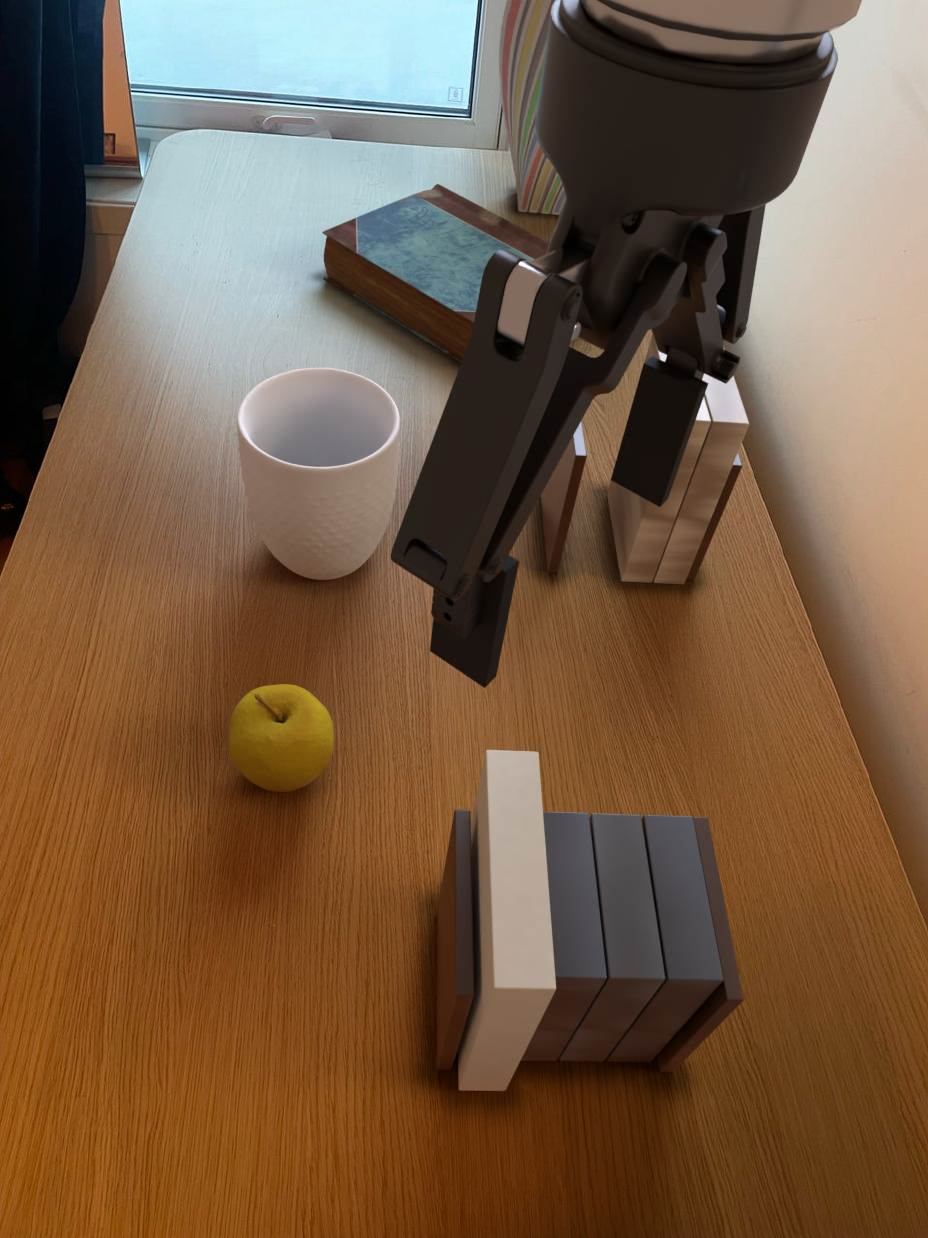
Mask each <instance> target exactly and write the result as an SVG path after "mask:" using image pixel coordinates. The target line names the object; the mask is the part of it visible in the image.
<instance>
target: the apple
mask: <svg viewBox="0 0 928 1238" xmlns="http://www.w3.org/2000/svg"><path fill="white" fill-rule="evenodd" d="M334 742H335V731H334V723H333V720H332V717H331V715H330V712H329V711H328V710H327V707H325V706H324V705H323V704H322V702H320V700H319V699H318V698H316V697H315V696H314V695H313V694H312V693H311V691H309V690H307V689H305V688H304V687H301V686H298V685H295V684H288V683H279V684H269V685H263V686H259V687H256V688H254V689H252V690H250V691H249V692H248V693H246V694H245V695H244V696H243V697H242V698H241V699H240V700H239V702H238V703H237V705H236V706H235V708H234V710H233V713H232V715H231V718H230V725H229V735H228V754H229V758H230V759H229V760H230V761H231V762H232V764H233V766H234V767H235V768H236V769H237V770H238V771H239V772H240V774H242V775H243V776H244V777H245V778H246V779H247V780H248V782H250V783H252V784H254V785H256V786H257V787H260V788H261V789H264V790H266V791H270V792H276V793H277V792H278V793H287V792H293V791H296V790H299V789H302V788H304V787H306V786H308V785H310V784H311V783H313V782H314V781H315V780H316V779H317V778H318V777H320V776H321V775H322V774H323V773H324V772H325V770H326V768H327V767H328V765H329V764H330V761H331V759H332V756H333V753H334V744H335V743H334Z"/></svg>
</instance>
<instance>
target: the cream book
mask: <svg viewBox="0 0 928 1238" xmlns="http://www.w3.org/2000/svg"><path fill="white" fill-rule="evenodd" d="M540 767H541V766H540V754H539V752H538V751H531V750H530V751H529V750H528V751H527V750H502V749H486V750H485V754H484V758H483V763H482V767H481V773H480V778H479V782H478V786H477V787H478V788H477V792H476V796H475V802H474V807H473V811H472V815H471V859H472V908H473V958H474V997H473V1000H472V1003H471V1007H470V1010H469V1013H468V1017H467V1020H466V1023H465V1026H464V1030H463V1033H462V1036H461V1040H460V1043H459V1046H458V1049H457V1056H458V1058H457V1066H458V1067H457V1069H458V1071H457V1074H458V1075H457V1077H458V1079H457V1080H458V1084H457V1085H458V1091H465V1092H467V1091H469V1092H470V1091H471V1092H473V1091H474V1092H475V1091H478V1092H479V1091H482V1092H483V1091H484V1092H487V1091H488V1092H491V1091H492V1092H505V1091H507V1089H508V1086H509V1084H510V1082H511V1080H512V1078H513V1077H514V1074H515V1072H516V1070H517V1068H518V1066H519V1064H520V1062H521V1058H522V1056H523V1054H524V1052H525V1050H526V1048H527V1046H528V1044H529V1042H530V1040H531V1038H532V1036H533V1034H534V1032H535V1030H536V1028H537V1026H538V1024H539V1022H540V1020H541V1018H542V1016H543V1014H544V1012H545V1010H546V1008H547V1006H548V1004H549V1002H550V1000H551V998H552V996H553V994H554V992H555V990H556V979H555V966H554V952H553V939H552V926H551V912H550V899H549V886H548V872H547V859H546V846H545V832H544V819H543V811H544V808H543V807H544V805H543V794H542V781H541V780H542V779H541V768H540Z"/></svg>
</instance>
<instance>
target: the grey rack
mask: <svg viewBox="0 0 928 1238" xmlns="http://www.w3.org/2000/svg"><path fill="white" fill-rule="evenodd" d="M452 816H453V817H452V824H451V828H450V835H449V840H448V845H447V852H446V857H445V862H444V867H443V874H442V880H441V885H440V891H439V897H438V902H437V929H436V930H437V936H436V937H437V940H436V941H437V942H436V943H437V944H436V945H437V946H436V948H437V949H436V951H437V952H436V956H437V957H436V958H437V959H436V961H437V965H436V966H437V967H436V970H437V971H436V1070H439V1071H443V1070H444V1071H445V1070H446V1071H450V1070H452V1069H453V1066H454V1062H455V1059H456V1056H457V1054H458V1046H459V1043H460V1040H461V1036H462V1033H463V1030H464V1026H465V1023H466V1020H467V1017H468V1013H469V1010H470V1007H471V1003H472V1000H473V997H474V958H473V908H472V859H471V820H472V815H471V809H460V808H459V809H454V811H453V815H452ZM543 819H544V832H545V846H546V859H547V872H548V886H549V899H550V912H551V926H552V939H553V952H554V966H555V979H556V990H555V992H554V994H553V996H552V998H551V1000H550V1002H549V1004H548V1006H547V1008H546V1010H545V1012H544V1014H543V1016H542V1018H541V1020H540V1022H539V1024H538V1026H537V1028H536V1030H535V1032H534V1034H533V1036H532V1038H531V1040H530V1042H529V1044H528V1046H527V1048H526V1050H525V1052H524V1054H523V1056H522V1058H521V1060H520V1062H522V1061H524V1062H525V1061H531V1062H534V1061H535V1062H557V1061H558V1060H559V1061H560V1062H605V1061H606V1062H612V1063H613V1062H617V1063H619V1062H622V1063H625V1062H627V1063H628V1062H629V1063H632V1062H633V1063H652V1061H653V1060H654V1059H655V1058H656V1057H657V1065H658V1071H659V1072H660V1073H673V1072H675V1071H676V1070H677V1069H678V1068H679V1067H680V1066H681V1065H682V1064H683V1063H684V1061H686V1060H687V1059H688V1057H690V1056H691V1055H692V1054H693V1052H694V1051H695V1050H696V1049H698V1048H699V1047H700V1045H702V1044H703V1043H704V1041H705V1040H706V1039H708V1038H709V1037H710V1035H712V1033H713V1032H714V1031H715V1030H716V1029H718V1027H719V1026H720V1025H721V1024H722V1023H723V1022H724V1021H725V1020H726V1019H727V1018H728V1017H729V1016H730V1015H731V1014H732V1013H733V1012H734V1011H735V1010H736V1009H737V1008H738V1007H739V1006H740V1005H741V1004H742V1003H743V1002H744V1000H745V997H744V993H743V992H744V991H743V988H742V982H741V977H740V973H739V968H738V963H737V958H736V952H735V946H734V943H733V936H732V932H731V928H730V923H729V917H728V913H727V907H726V902H725V897H724V892H723V887H722V881H721V877H720V871H719V867H718V861H717V856H716V851H715V847H714V842H713V837H712V831H711V827H710V826H711V825H710V822H709V818H708V817H707V816H706V817H705V816H692V815H668V814H667V815H665V814H664V815H663V814H642V815H641V814H636V813H635V814H634V813H633V814H632V813H630V814H629V813H606V812H605V813H603V812H602V813H600V812H599V813H598V812H592V813H591V814H590V813H589V812H574V811H573V812H572V811H571V812H569V811H544V810H543Z"/></svg>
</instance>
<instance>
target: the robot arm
mask: <svg viewBox="0 0 928 1238" xmlns="http://www.w3.org/2000/svg"><path fill="white" fill-rule="evenodd" d="M862 2H863V0H555V1H554V3H553V5H552V9H551V15H550V22H549V29H548V36H547V43H546V50H545V57H544V64H543V70H542V77H541V84H540V91H539V98H538V105H537V112H536V119H535V131H536V136H537V140H538V142H539V145H540V147H541V149H542V151H543V153H544V154H545V156H546V157H547V159H549V161H550V162H551V164H552V165H553V167H554V168H555V170H556V172H557V173H558V175H559V177H560V179H561V182H562V184H563V186H564V189H565V193H566V200H565V202H564V204H563V207H562V209H561V212H560V215H559V217H558V220H557V223H556V226H555V229H554V231H553V232H552V236H551V238H550V240H549V246H548V249H547V253H546V255H544V256H542V257H539V258H537V259H535V260H533V261H528V260H526V259H524V258H522V257H520V256H518V255H516V254H514V253H511V252H509V251H507V250H505V249H499V250H498V251H496V252H495V253H494V254H493V255H492V257H491V258H490V259H489V261H488V263H487V265H486V267H485V269H484V272H483V276H482V281H481V286H480V292H479V297H478V303H477V308H476V314H475V319H474V325H473V330H472V335H471V338H470V341H469V343H468V346H467V349H466V351H465V354H464V357H463V359H462V362H461V363H460V365H459V368H458V370H457V373H456V376H455V379H454V381H453V383H452V386H451V390H450V392H449V394H448V396H447V400H446V402H445V406H444V408H443V411H442V414H441V416H440V418H439V421H438V423H437V427H436V430H435V433H434V435H433V438H432V441H431V443H430V446H429V449H428V450H427V454H426V457H425V459H424V461H423V464H422V467H421V470H420V473H419V475H418V477H417V480H416V483H415V486H414V489H413V491H412V494H411V496H410V499H409V502H408V505H407V508H406V510H405V513H404V516H403V518H402V521H401V524H400V527H399V529H398V532H397V534H396V537H395V540H394V542H393V545H392V548H391V552H390V560H391V561H392V562H393V563H394V564H395V565H397V566H398V567H400V568H401V569H403V570H405V571H406V572H408V573H409V574H411V575H412V576H414V577H415V578H417V579H418V580H420V581H422V582H423V583H425V584H426V585H428V586H429V587H431V588H432V589H433V590H432V594H433V595H432V599H431V601H432V602H431V608H430V609H431V610H430V614H431V616H432V626H431V635H430V645H429V652H431V653H432V654H433V655H435V656H436V657H437V658H439V659H441V660H442V661H443V662H444V663H446V664H448V665H450V666H451V667H453V668H454V669H456V670H457V671H458V672H460V673H462V674H463V675H464V676H466V677H467V678H469V679H470V680H471V681H473V682H475V683H476V684H478V685H479V686H480V687H482V688H483V689H486V688H487V686H489V685H490V683H492V682H493V680H494V679H496V677H497V675H498V669H499V665H500V660H501V655H502V649H503V645H504V640H505V636H506V630H507V625H508V619H509V614H510V610H511V605H512V600H513V595H514V589H515V584H516V579H517V575H518V571H519V566H520V560H519V559H517V558H515V557H513V556H512V555H510V553H511V551H512V550H513V547H514V546H515V544H516V543H517V540H518V538H519V537H520V535H521V533H522V531H523V529H524V527H525V525H526V523H528V520H529V518H530V516H531V514H532V513H533V511H534V509H535V507H536V505H537V503H538V502H539V499H541V497H540V496H541V494H542V492H543V491H544V489H545V487H546V485H547V483H548V481H549V479H550V478H551V476H552V474H553V472H554V470H555V468H556V467H557V465H558V463H559V461H560V459H561V457H562V455H563V454H564V452H565V450H566V448H567V446H568V444H569V443H570V441H571V439H572V437H573V435H574V433H575V431H576V430H577V428H578V426H579V424H580V422H581V420H582V421H583V419H584V417H585V415H586V413H587V411H588V410H589V408H590V406H591V404H592V402H593V400H594V399H595V398H596V397H597V396H599V395H606V394H609V393H612V392H613V391H615V389H616V388H617V387H618V386H619V384H620V382H621V381H622V379H623V377H624V375H625V373H626V372H627V370H628V368H629V366H630V365H631V363H632V360H633V359H634V358H635V355H636V354H637V351H638V349H639V347H640V346H641V344H642V343H643V341H644V338H645V337H646V335H647V333H648V331H651V333H652V334H653V336H654V339H655V342H656V345H657V348H658V351H659V352H661V353H663V354H665V355H667V357H666V360H665V362H664V361H662V360H660V359H658V358H656V357H654V356H652V357H651V358H649V359H648V360H647V361H646V362H645V361H644V362H645V363H644V362H643V364H642V368H641V372H640V374H639V378H638V382H637V385H636V389H635V392H634V395H633V399H632V403H631V407H630V410H629V414H628V418H627V420H626V424H625V428H624V431H623V435H622V438H621V442H620V446H619V449H618V453H617V456H616V459H615V463H614V466H613V470H612V473H611V478H610V482H611V481H613V482H615V483H617V484H619V485H620V486H622V487H624V488H626V489H628V490H630V491H631V492H633V493H635V494H637V495H639V496H640V497H642V498H644V499H646V500H648V501H649V502H651V503H653V504H655V505H657V506H659V507H661V506H662V505H663V504H664V503H665V501H666V500H667V499H668V497H669V494H670V491H671V489H672V486H673V483H674V480H675V477H676V474H677V472H678V469H679V466H680V463H681V460H682V457H683V454H684V452H685V449H686V446H687V443H688V440H689V437H690V435H691V432H692V429H693V426H694V423H695V420H696V417H697V415H698V412H699V409H700V406H701V403H702V400H703V398H704V395H705V392H706V389H707V386H708V383H707V382H705V381H703V380H702V378H703V376H704V374H706V375H708V376H710V377H712V378H715V379H717V380H719V381H721V382H723V383H725V384H726V383H728V381H729V380H730V379H731V378H732V376H733V375H735V373H736V371H737V370H738V367H739V364H740V362H741V356H739V355H737V354H734V353H733V352H730V351H728V350H726V349H725V350H724V348H725V345H724V341H725V342H727V343H730V344H732V345H735V344H736V343H738V341H739V340H740V339H741V338H742V337H743V336H744V335H745V333H746V331H747V329H748V328H747V325H748V321H749V317H750V310H751V304H752V297H753V291H754V290H753V289H754V285H755V276H756V271H757V264H758V258H759V251H760V245H761V238H762V231H763V225H764V218H765V211H766V206H767V204H769V203H770V202H772V201H774V200H776V199H777V198H778V197H780V196H781V195H782V194H783V193H784V192H785V191H787V190H788V189H789V187H790V186H791V185H792V183H793V182H794V180H795V178H796V176H797V175H798V173H799V170H800V167H801V165H802V162H803V159H804V157H805V153H806V151H807V148H808V145H809V143H810V139H811V138H812V134H813V132H814V128H815V126H816V124H817V121H818V117H819V115H820V112H821V110H822V107H823V104H824V102H825V98H826V96H827V93H828V91H829V87H830V84H831V81H832V79H833V76H834V74H835V70H836V67H837V66H838V61H839V55H838V51H837V48H836V47H835V41H834V37H833V35H832V34H831V32H832V31H834V30H837V29H839V28H841V27H843V26H844V25H845V24H847V23H848V22H849V21H852V20H853V19H854V18H855V17H856V16H857V15H858V12H859V10H860V7H861V5H862ZM577 339H580V340H582V341H584V342H586V343H588V344H590V345H592V346H594V347H595V348H598V349H600V350H603V351H602V353H601V354H600V355H598V356H595V357H593V356H589V355H587V354H585V353H583V352H581V351H579V350H578V349H575V348H573V347H571V346H570V345H571V344H572V343H574V342H575V341H577Z"/></svg>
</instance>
